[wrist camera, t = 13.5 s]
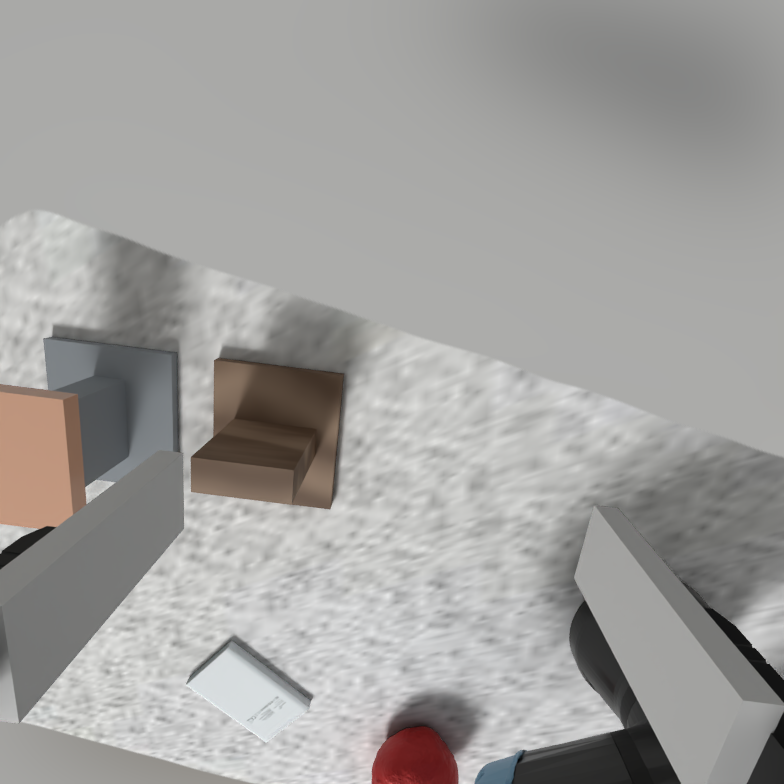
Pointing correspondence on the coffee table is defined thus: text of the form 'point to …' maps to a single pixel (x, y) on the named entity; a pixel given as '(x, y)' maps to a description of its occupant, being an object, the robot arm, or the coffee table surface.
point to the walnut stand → (271, 434)
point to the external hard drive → (248, 692)
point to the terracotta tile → (39, 457)
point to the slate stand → (117, 402)
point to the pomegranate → (414, 759)
